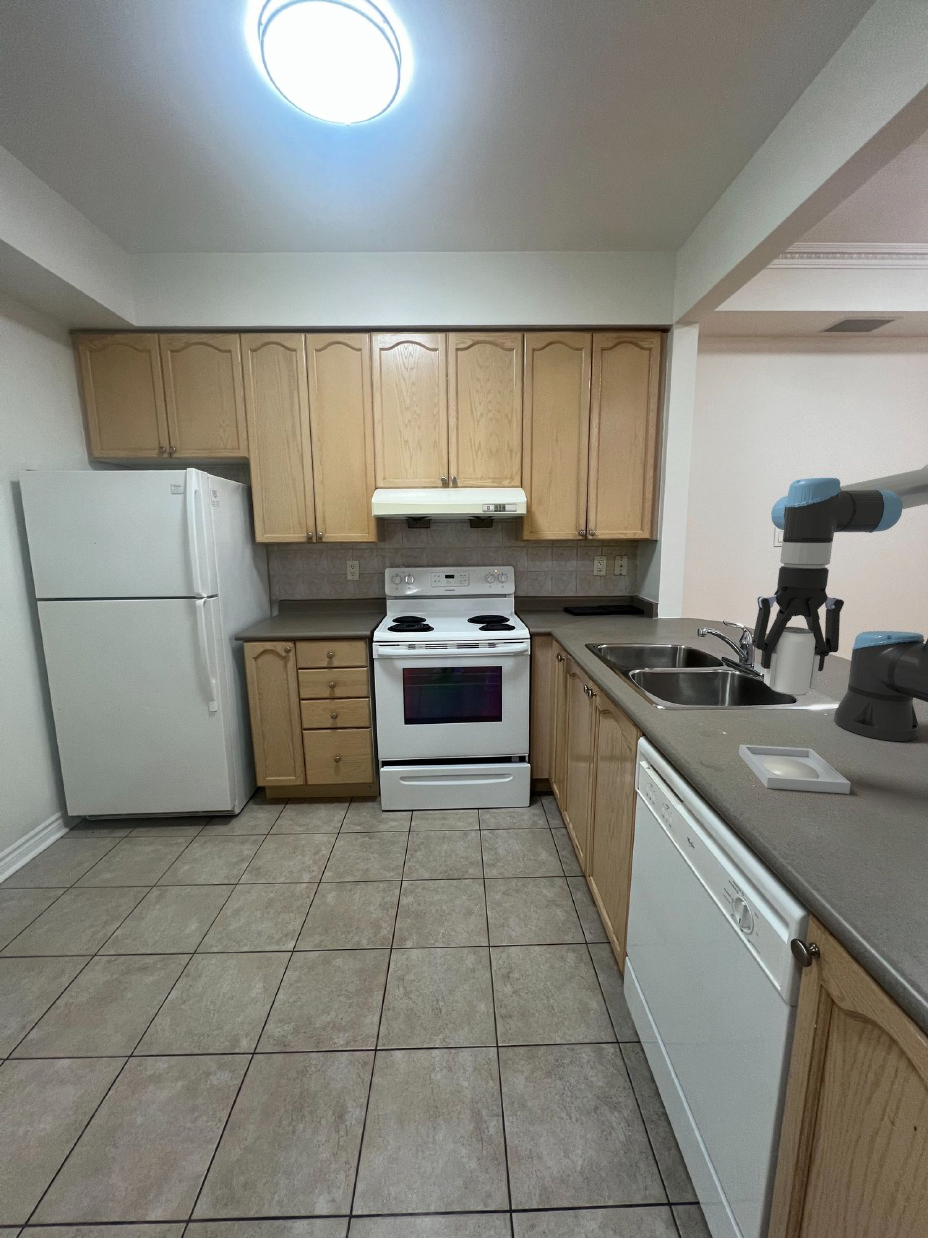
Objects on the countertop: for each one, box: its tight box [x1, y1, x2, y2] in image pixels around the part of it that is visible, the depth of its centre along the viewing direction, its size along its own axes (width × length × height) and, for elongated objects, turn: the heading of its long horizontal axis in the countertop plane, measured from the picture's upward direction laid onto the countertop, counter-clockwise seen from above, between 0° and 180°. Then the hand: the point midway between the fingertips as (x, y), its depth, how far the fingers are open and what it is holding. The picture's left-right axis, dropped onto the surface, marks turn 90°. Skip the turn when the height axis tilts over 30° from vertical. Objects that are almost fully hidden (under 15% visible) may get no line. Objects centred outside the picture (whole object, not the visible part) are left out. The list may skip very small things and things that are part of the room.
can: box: [769, 626, 815, 697], centre depth 93 cm, size 6×6×12 cm
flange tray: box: [738, 744, 852, 795], centre depth 95 cm, size 14×14×2 cm
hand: (789, 685), depth 94 cm, fingers closed on can, 6 cm apart
